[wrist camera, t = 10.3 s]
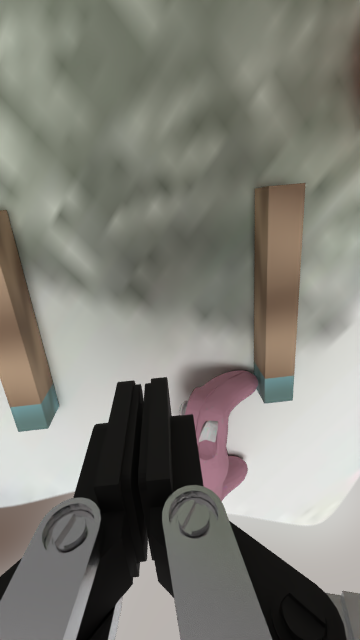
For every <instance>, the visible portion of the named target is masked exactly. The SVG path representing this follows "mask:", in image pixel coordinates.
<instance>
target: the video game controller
mask: <svg viewBox="0 0 360 640" xmlns="http://www.w3.org/2000/svg"><path fill="white" fill-rule="evenodd" d="M257 386H258V380H257V378H256V376H255V375H254V374H252V373H250V372H248V371H231V372H227V373H224V374H221V375H219V376H217V377H215V378H213V379H212V380H210V381H209V382H207V383H206V384H205V385H203V386H202V387H196V388H195V389H194V390H193V392H192V394H191V395H190V398H189V400H188V402H187V401H184V403H183V404H182V405H181V407H180V415H189V414H193V417H194V424H195V431H196V438H197V444H198V451H199V458H200V465H201V472H202V478H203V485H204V487H206V488H208V489H210V490H212V491H213V492H214V493H215V494H216V495H217V496H218V497H219V498H220V500H221V501H222V500H223V499H224V497H225V496H226V495H227V494H228V493H229V492H231V491H232V490H233V489H234V488H236V487H237V486H238V485H239V484H240V483H241V482H242V481H243V480H244V479H245V476H246V474H247V470H248V468H247V464H246V462H245V461H244V460H242V459H241V458H239V457H235V456H228V454H227V449H226V443H227V434H228V417H229V415H230V412H231V411H232V410H233V409H234V407H235V406H236V405H238V404H239V403H240V402H241V401H242V400H244V399H245V398H247V397H248V396H249V395H251V394H252V393H253V392H254V391H255V390H256V388H257Z"/></svg>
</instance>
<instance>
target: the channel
mask: <svg viewBox="0 0 360 640" xmlns="http://www.w3.org/2000/svg"><path fill="white" fill-rule="evenodd" d="M304 198H305V183H300V184H289V185H277V186H267V187H262V188H256V189H255V268H254V375H255V376H256V378H257V380H258V386H257V388H256V389H257V391H258V392H259V394H260V396H261V398H262V400H263V402H264V403H274V402H282V401H291V400H293V385H294V368H295V351H296V334H297V317H298V300H299V283H300V266H301V249H302V232H303V215H304ZM0 379H1V382H2V385H3V388H4V391H5V394H6V397H7V400H8V403H9V405H10V408H11V411H12V414H13V417H14V420H15V423H16V426H17V429H18V432H21V431H30V430H39V429H47V428H49V426H50V424H51V422H52V420H53V417H54V415H55V413H56V411H57V409H58V407H59V403H58V400H57V396H56V392H55V389H54V385H53V381H52V377H51V374H50V370H49V366H48V363H47V359H46V355H45V351H44V348H43V344H42V340H41V336H40V333H39V329H38V325H37V322H36V318H35V314H34V310H33V307H32V303H31V299H30V296H29V292H28V288H27V284H26V281H25V277H24V273H23V269H22V266H21V262H20V258H19V255H18V251H17V247H16V243H15V240H14V236H13V232H12V229H11V225H10V221H9V217H8V214H7V210H0Z"/></svg>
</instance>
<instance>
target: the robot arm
mask: <svg viewBox="0 0 360 640" xmlns="http://www.w3.org/2000/svg"><path fill="white" fill-rule="evenodd" d="M148 541H149V546H150V551H151V556H152V560H154V561H155V566H156V572H157V577H158V581H159V583H160V584H161V585H162V586H163V587H164V588H165V589H166V590H167V591H168V592H169V593H170V594H171V595H172V597H173V598H174V600H175V607H176V613H177V620H178V626H179V632H180V639H181V640H360V594H358V593H352V592H346V591H342V595H335V594H329V593H325V592H323V590H322V589H320V588H319V587H318V586H317V585H316V584H315V583H313V582H312V581H311V580H309V579H308V578H306V577H305V576H304V575H302V574H301V573H300V572H298V571H297V570H295V569H294V568H293V567H291V566H290V565H289V564H287V563H286V562H285V561H283V560H282V559H281V558H279V557H278V556H277V555H275V554H274V553H272V552H271V551H270V550H268V549H267V548H265V547H264V546H263V545H261V544H260V543H259V542H257V541H256V540H255V539H253V538H252V537H251V536H249V535H248V534H247V533H245V532H244V531H242V530H241V529H240V528H238V527H237V526H236V525H234V524H233V523H231V522H230V521H229V520H228V517H227V514H226V511H225V508H224V506H223V504H222V502H221V500H220V498H219V497H218V496H217V495H216V494H215V493H214V492H213V491H212V490H210V489H208V488H206V487H204V485H203V478H202V472H201V465H200V458H199V451H198V444H197V438H196V431H195V424H194V417H193V414H189V415H179V416H171V407H170V398H169V389H168V381H167V377H164V378H154V379H151V383H147V384H145V392H144V400H143V394H142V388H141V384H138V385H135V381H125V382H118V383H117V387H116V391H115V396H114V400H113V404H112V409H111V413H110V418H109V422H108V423H103V424H96V425H95V426H94V428H93V431H92V435H91V438H90V442H89V445H88V449H87V452H86V456H85V459H84V463H83V466H82V470H81V473H80V477H79V480H78V484H77V487H76V491H75V494H74V498H72V499H69V500H66V501H64V502H62V503H60V504H59V505H57V506H55V507H54V508H53V509H52V510H51V511H50V512H49V513H48V514H47V515H46V516H45V517H44V518H43V520H42V521H41V523H40V524H39V526H38V528H37V530H36V532H35V534H34V536H33V538H32V540H31V542H30V544H29V546H28V548H27V550H26V551H25V553H24V555H23V557H22V558H21V559H20V560H19V561H18V562H17V563H16V564H14V565H13V566H12V567H11V568H10V569H9V570H7V571H6V572H5V573H4V574H3V575H2V576H1V577H0V640H115V637H116V632H117V627H118V622H119V617H120V613H121V608H122V596H123V595H124V594H125V593H126V591H127V590H128V589H129V588H130V587H131V585H132V584H133V577H139V567H140V562H143V561H146V560H147V545H148Z"/></svg>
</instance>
